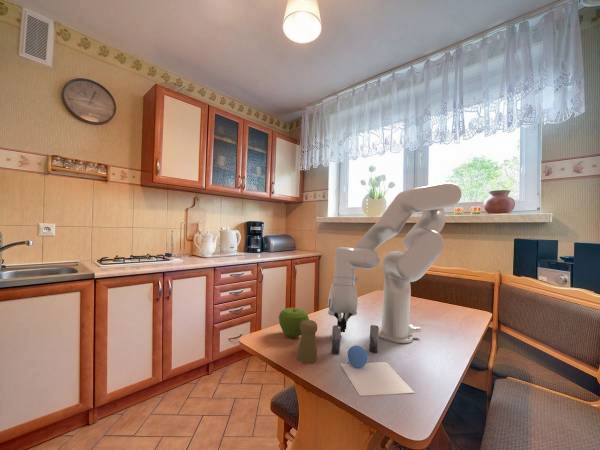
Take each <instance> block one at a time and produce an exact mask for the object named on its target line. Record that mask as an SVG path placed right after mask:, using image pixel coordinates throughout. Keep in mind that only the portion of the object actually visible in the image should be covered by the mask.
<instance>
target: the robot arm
mask: <svg viewBox="0 0 600 450" xmlns="http://www.w3.org/2000/svg"><path fill="white" fill-rule="evenodd" d="M461 189H462V188H461V187H459V185H457V184H456V183H454V182H450V181H449V182H441V183H437V184H432V185H426V186H419V187H413V188H410V189H406V190H403V191H401V192H399V193H398V194H397V195H396V196H395V197H394V198H393V200H392V201H391V202H390V204H389V205H388V207H387V208H386V210H385V211H384V212H383V214H382V215H381V216H380V218H379V219H378V220H377V221H376V223H374V224H373V225H372V226H371V227H370V228H369V229H368V230H367V231H366V232H365V233H364V234H363V236H361V238H360V239H359V240H358V242H357V243H356V245H355V246H354V247H346V246H339V247H336V248H335V252H334V253H335V254H334V270H333V272H334V273H333V282H331V284H330V288H329V293H328V300H327V301H328V302H327V307H328V310H327V314H328V315H329V316H332V317H335V319H337V322H336V325H337V326H340V327H341V333H346V330H347V325H348V324H347V323H348V321H349V319H350V318H351V317H353V316H356V315H358V290H357V285H356V283H357V282H359V278H358V277H356V268H357V269H363V270H373V269H375V268H377V266H378V265H379V263H380V256H379V253H378V252H377V251H376V250H377V249H378V248H379V247H380V246H381V245H382V244H383V243H385V242H386V241H388V240H390V239H392V238H394V237H395V236H397V235H398V234H399V233H400V232H401V231H402V229H403V227H404V226H405V224H406V223H407V221H408V220H410V218H411V217H412V215H413V214H414V213H421V212H422V213H421V216H420V218H419V219H418V220H417V221H416V222H415V224H414V225H413V226H412V228H411V229H410V230H409V231H408V232H407V233H406V235H404V237H403V239H402V247H403V248H404V250H405V251H406V252H404V251H401V250H394V251H393V250H392V251H390V252H388V253H387V254H386V255H385V256H384V257H383V261H382V273H383V274H382V275H383V292H382V311H381V327H379V333H378V337H379V338H381V339H382V340H385V341H387V342H392V343H397V344H409V343H411V342H413V341H414V336H413V334H414V333H421V332H422V328H421V326H414V325H413V324H410V310H411V295H412V294H411V293H412V291H411V290H412V289H411V287H412V286H411V283H414V282H416V281H418V280H420V279H421V278H422V277H423V276H425V274H426V273H427V272H428V271H429V269H430V268H431V267H432V266H433V264H434V263H435V262H436V261H437V260H438V258H439V257H440V255H441V254H442V252H443V250H444V246H445V242H444V241H445V240H444V238H443V236H442V234H441V231H442V230H443V228H444V226H445V225H446V213H445V212H446V211H445V208H450V207H454V206H456V205H457V204H458V203H459V201H460V200H461V199H462V190H461Z"/></svg>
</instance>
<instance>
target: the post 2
mask: <svg viewBox="0 0 600 450" xmlns="http://www.w3.org/2000/svg"><path fill="white" fill-rule="evenodd" d="M379 328H380V327H379V326H378V325H376V324H371V325H370V327H369V344H368V345H369V348H368V351H369V353H371V354H378V351H379V350H378V349H379V336H378V333H379Z"/></svg>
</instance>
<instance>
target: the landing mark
mask: <svg viewBox="0 0 600 450" xmlns="http://www.w3.org/2000/svg"><path fill="white" fill-rule="evenodd" d="M340 366H341V367H342V369H343V371H344V372H345V374H346V376H347V378H348V380H349V381H350V382H351V384H352V386H353V388H354V389H355V391H356V393H357V394H358V396H359V397H371V396H389V395H391V396H392V395H405V394H406V395H407V394H415V391H414V390H413V389H412V388H411V387H410V385H408V384H407V383H406V382H405V380H403V379H402V378H401V376H400V375H398V373H397V372H396V371H395V370H394V369H393V367H391V365H389V364H388V363H387V362H386V361H384V362H383V361H380V362H378V361H377V362H367V363H366V364H365V365H364V366H363V367H359V368H358V367H354V366H353V365H351V363H350V362H348V363H340Z"/></svg>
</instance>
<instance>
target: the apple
mask: <svg viewBox="0 0 600 450" xmlns="http://www.w3.org/2000/svg"><path fill="white" fill-rule="evenodd" d="M304 320H310V318H309V315H308V312H307V311H305V310H303V309H302V308H297V307H287V308H285V309H283V310H281V311H280V312H279V315H278V322H279V326H280V329H281V331H282V332H283V334H284V335H286V336H287V337H288V338H290V339H295V338H298V337H301V333H302V332H301V330H300V324H301V322H302V321H304Z"/></svg>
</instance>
